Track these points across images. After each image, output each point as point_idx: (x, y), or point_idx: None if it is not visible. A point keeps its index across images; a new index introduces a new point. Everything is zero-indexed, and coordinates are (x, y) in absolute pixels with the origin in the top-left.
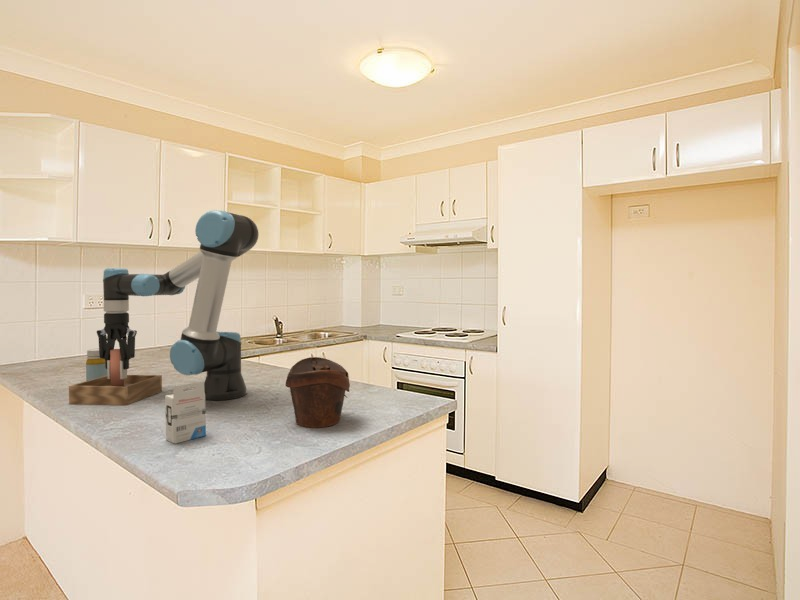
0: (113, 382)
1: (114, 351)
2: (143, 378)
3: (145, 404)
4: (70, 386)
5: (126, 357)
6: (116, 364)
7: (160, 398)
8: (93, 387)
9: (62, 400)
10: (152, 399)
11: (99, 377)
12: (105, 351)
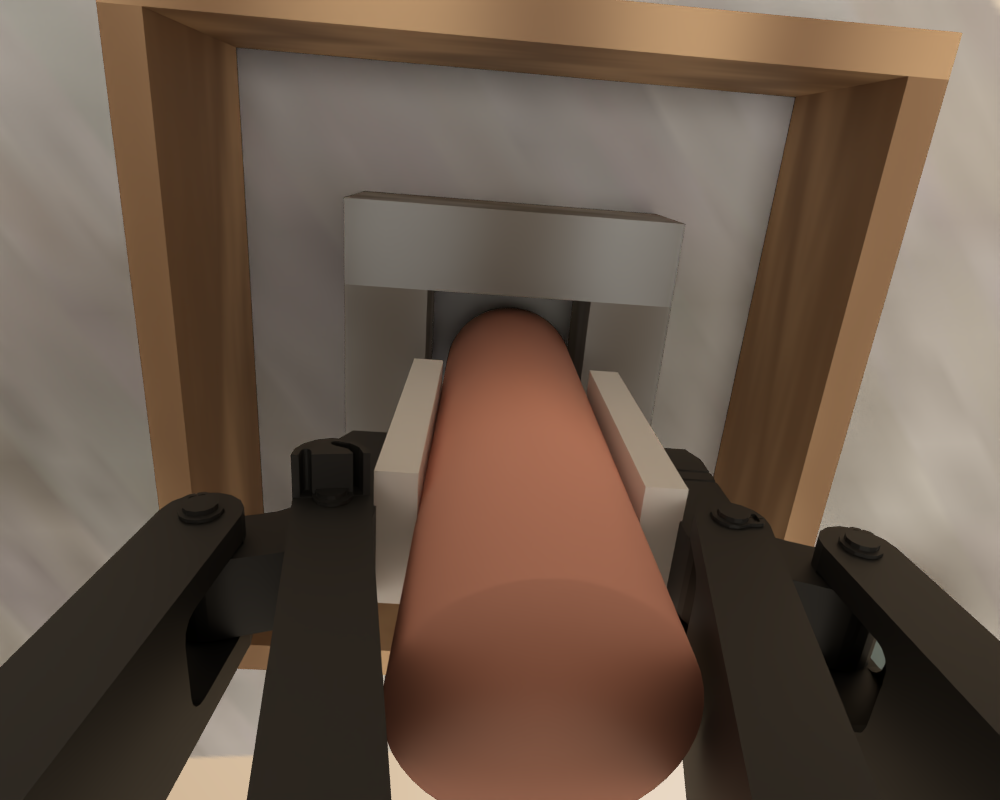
0: (515, 328)
1: (517, 565)
2: (383, 627)
3: (23, 54)
4: (933, 32)
5: (283, 538)
6: (476, 425)
7: (59, 307)
8: (594, 2)
9: (967, 215)
10: (108, 267)
11: (876, 662)
12: (868, 720)
